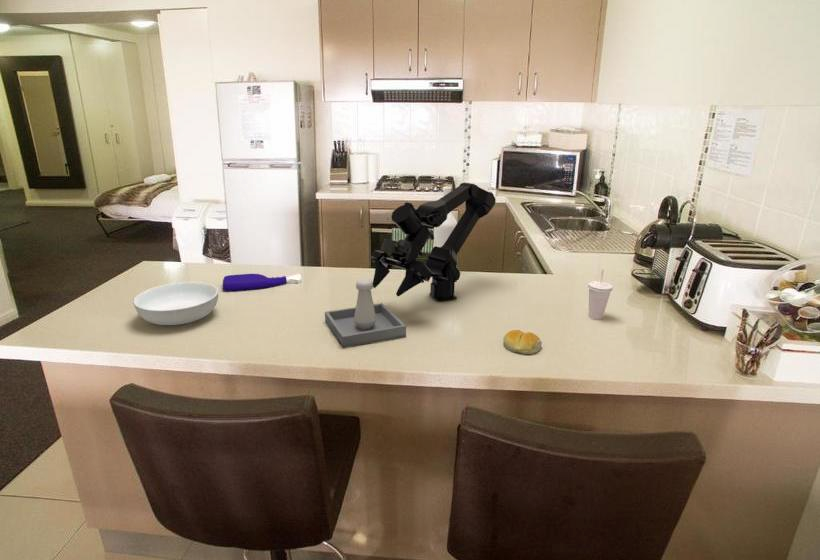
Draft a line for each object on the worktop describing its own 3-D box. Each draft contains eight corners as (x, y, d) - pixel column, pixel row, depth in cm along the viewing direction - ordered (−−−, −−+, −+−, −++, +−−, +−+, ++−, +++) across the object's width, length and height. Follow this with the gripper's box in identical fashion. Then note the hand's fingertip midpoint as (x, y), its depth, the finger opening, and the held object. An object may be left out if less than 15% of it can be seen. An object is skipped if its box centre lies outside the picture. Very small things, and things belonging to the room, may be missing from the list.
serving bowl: (118, 326, 129) (114, 301, 127) (180, 299, 148) (177, 277, 145) (180, 340, 122) (176, 314, 120) (237, 310, 140) (234, 287, 138)
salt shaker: (363, 333, 126) (362, 285, 121) (349, 326, 129) (348, 279, 125) (380, 327, 130) (380, 280, 125) (366, 320, 133) (365, 274, 129)
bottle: (460, 272, 176) (464, 187, 166) (444, 277, 171) (448, 190, 161) (443, 267, 181) (446, 184, 171) (428, 271, 176) (430, 187, 166)
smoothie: (607, 314, 141) (614, 268, 137) (608, 323, 136) (615, 274, 131) (583, 311, 143) (590, 265, 139) (583, 319, 137) (590, 272, 133)
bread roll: (509, 336, 127) (510, 322, 126) (543, 345, 123) (545, 331, 121) (497, 349, 120) (498, 334, 119) (532, 359, 116) (534, 343, 115)
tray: (382, 313, 140) (382, 303, 139) (405, 336, 126) (406, 326, 125) (325, 322, 133) (324, 311, 132) (343, 348, 119) (342, 336, 118)
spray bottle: (222, 285, 152) (303, 279, 160) (223, 274, 162) (299, 269, 169) (223, 294, 153) (303, 287, 161) (223, 283, 163) (299, 277, 170)
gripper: (374, 221, 136) (345, 268, 132) (425, 232, 124) (394, 284, 120) (395, 243, 144) (367, 288, 140) (444, 256, 132) (416, 305, 128)
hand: (385, 291), depth 132 cm, fingers open, 9 cm apart
